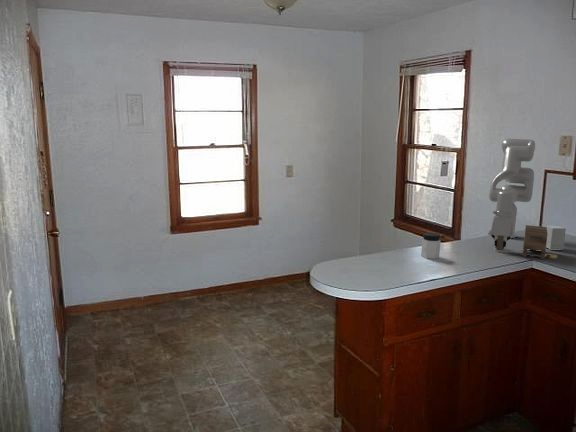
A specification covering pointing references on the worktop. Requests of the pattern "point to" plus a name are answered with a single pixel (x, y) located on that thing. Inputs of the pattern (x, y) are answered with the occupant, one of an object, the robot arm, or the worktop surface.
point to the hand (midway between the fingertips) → (499, 247)
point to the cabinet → (535, 239)
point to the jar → (431, 245)
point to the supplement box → (555, 237)
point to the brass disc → (551, 255)
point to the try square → (500, 249)
